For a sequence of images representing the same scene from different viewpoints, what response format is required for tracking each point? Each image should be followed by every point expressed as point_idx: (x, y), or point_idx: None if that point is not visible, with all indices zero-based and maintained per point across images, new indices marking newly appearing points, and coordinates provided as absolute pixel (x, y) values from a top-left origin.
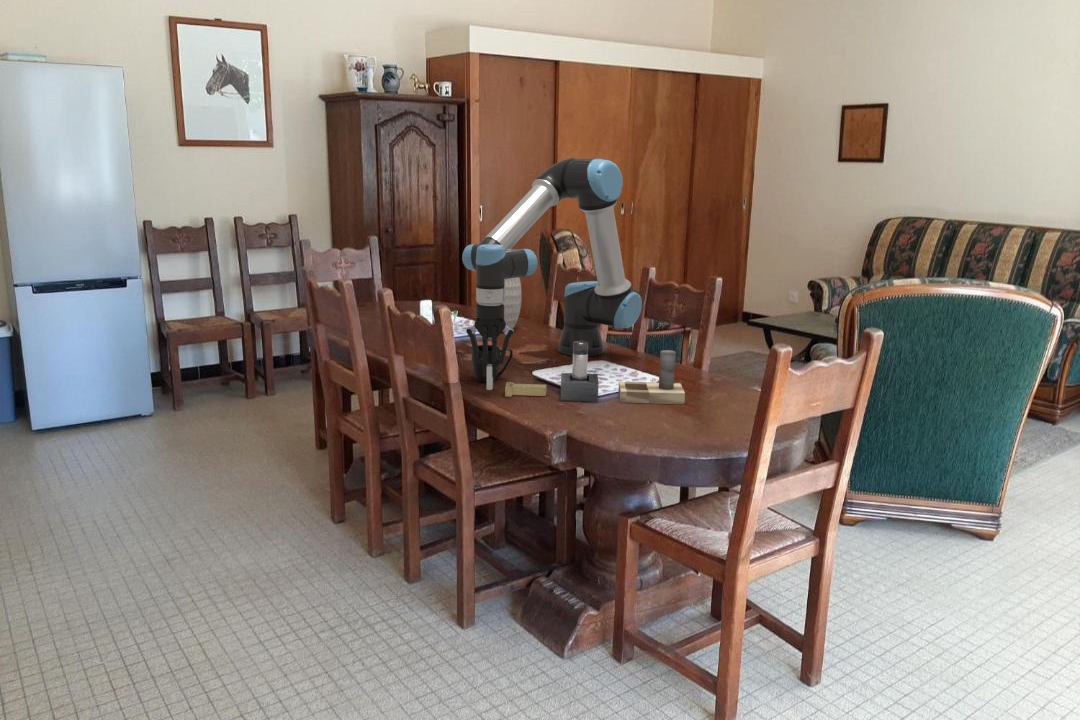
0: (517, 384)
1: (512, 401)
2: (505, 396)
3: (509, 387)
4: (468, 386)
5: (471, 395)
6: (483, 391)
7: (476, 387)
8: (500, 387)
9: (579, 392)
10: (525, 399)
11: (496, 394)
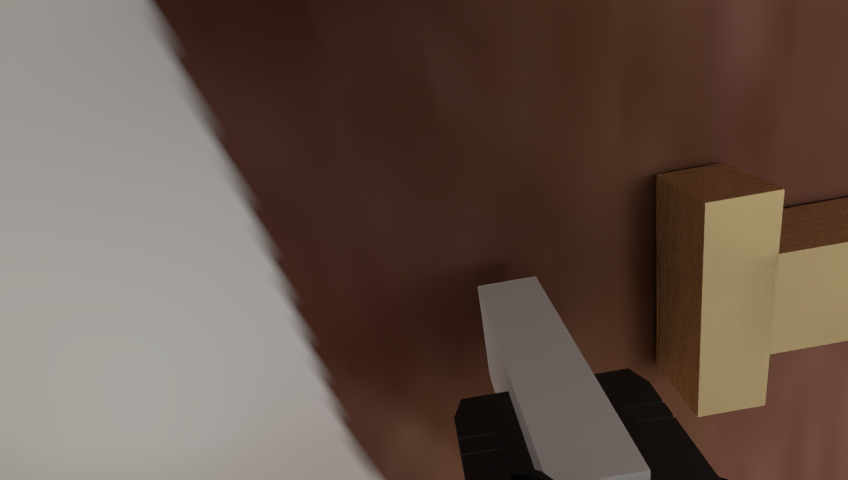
0: (830, 267)
1: (722, 446)
2: (660, 364)
3: (741, 389)
4: (206, 122)
5: (354, 399)
6: (426, 257)
7: (309, 137)
8: (573, 61)
9: None
10: (828, 375)
11: (569, 313)
